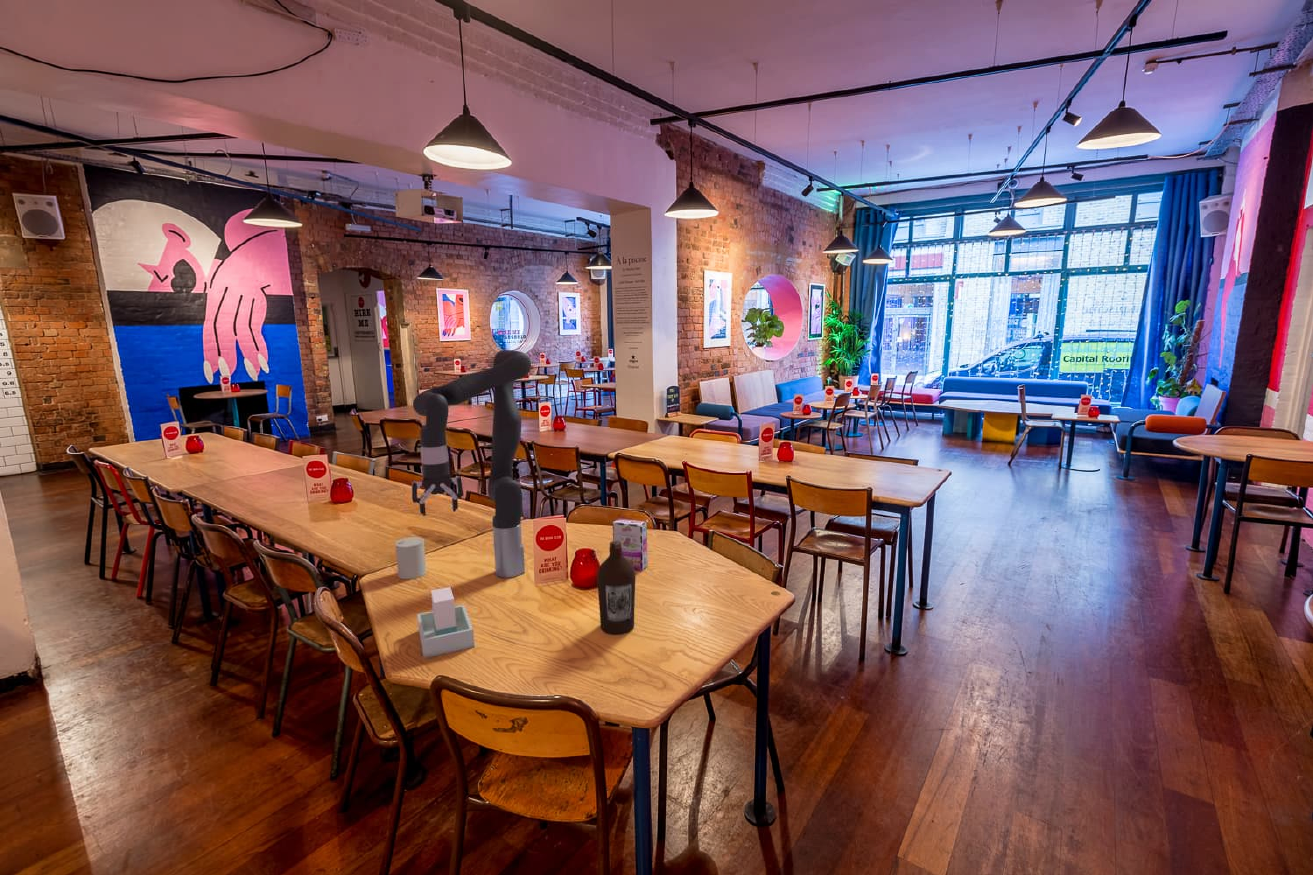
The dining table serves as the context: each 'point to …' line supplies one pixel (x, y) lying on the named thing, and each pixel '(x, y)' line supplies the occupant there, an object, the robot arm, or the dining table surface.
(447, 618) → the carton
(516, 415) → the robot arm
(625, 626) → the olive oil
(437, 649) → the tray
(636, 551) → the candy bar box
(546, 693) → the dining table surface
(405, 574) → the can
